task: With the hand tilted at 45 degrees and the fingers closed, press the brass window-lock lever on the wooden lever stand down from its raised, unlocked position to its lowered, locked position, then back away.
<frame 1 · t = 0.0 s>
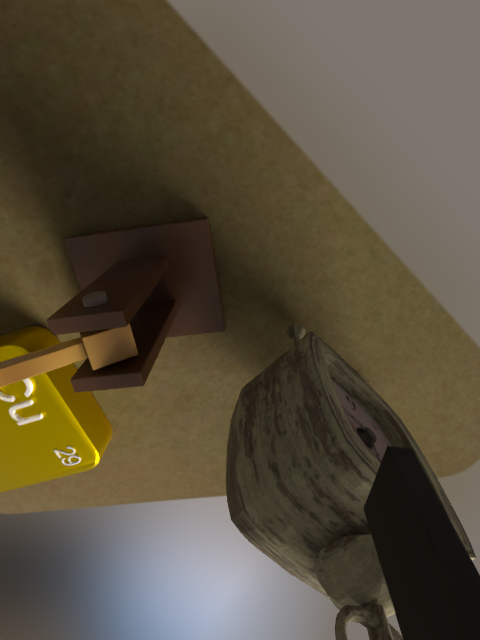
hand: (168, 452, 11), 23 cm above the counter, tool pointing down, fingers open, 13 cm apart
element tile: (25, 399, 39), on the counter
tabletop clock: (309, 378, 37), on the counter
wooden lever stand: (151, 282, 33), on the counter
lock lever: (24, 366, 21), point 13 cm above the counter, hinge at 30.0°
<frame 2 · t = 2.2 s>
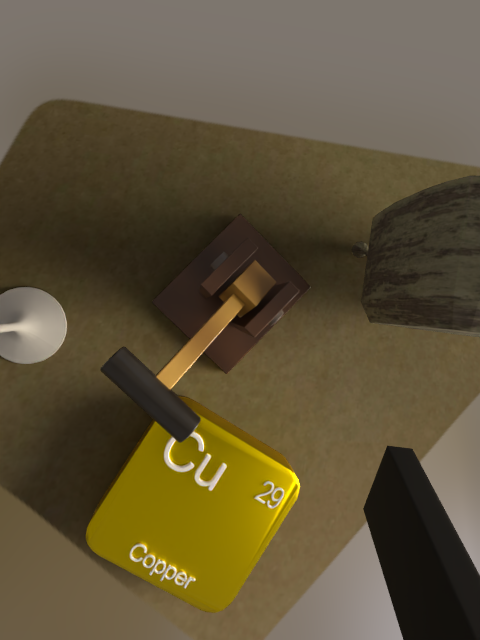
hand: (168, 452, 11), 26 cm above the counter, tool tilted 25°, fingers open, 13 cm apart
element tile: (196, 487, 38), on the counter
wineglass: (27, 325, 35), on the counter
tabletop clock: (399, 284, 39), on the counter
wooden lever stand: (232, 294, 37), on the counter
lock lever: (207, 333, 24), point 13 cm above the counter, hinge at 30.0°
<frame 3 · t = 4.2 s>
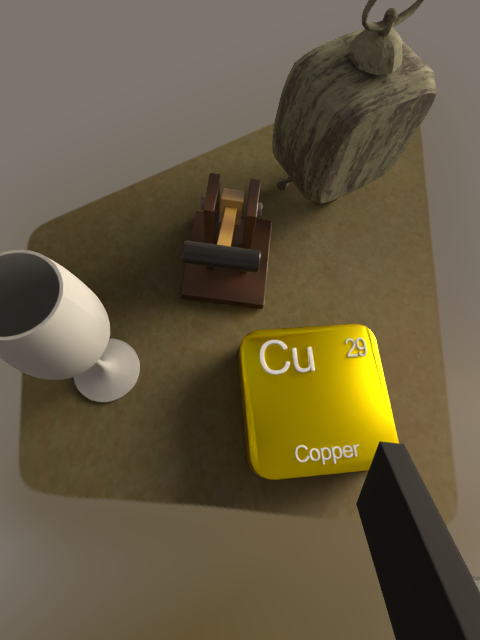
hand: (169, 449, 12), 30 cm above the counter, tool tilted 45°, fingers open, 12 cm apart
element tile: (307, 401, 42), on the counter
wineglass: (107, 370, 42), on the counter
tabletop clock: (323, 189, 53), on the counter
wooden lever stand: (228, 260, 47), on the counter
lock lever: (227, 227, 33), point 13 cm above the counter, hinge at 30.0°
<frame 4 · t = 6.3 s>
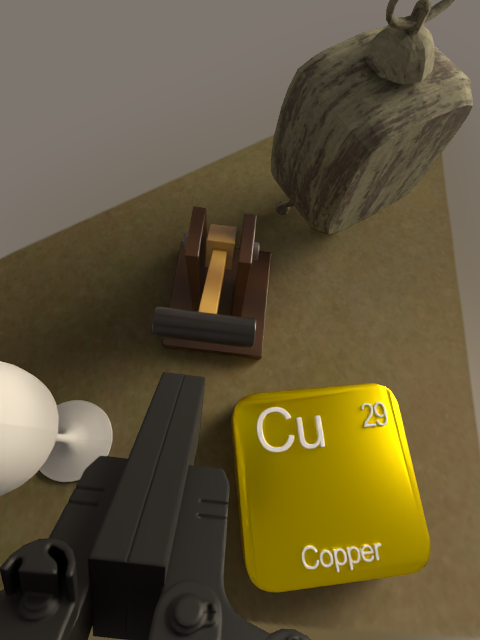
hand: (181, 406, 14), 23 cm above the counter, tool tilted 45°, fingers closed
element tile: (315, 475, 35), on the counter
wineglass: (73, 439, 35), on the counter
tabletop clock: (329, 213, 45), on the counter
wooden lever stand: (219, 300, 40), on the counter
lock lever: (214, 279, 26), point 13 cm above the counter, hinge at 30.0°
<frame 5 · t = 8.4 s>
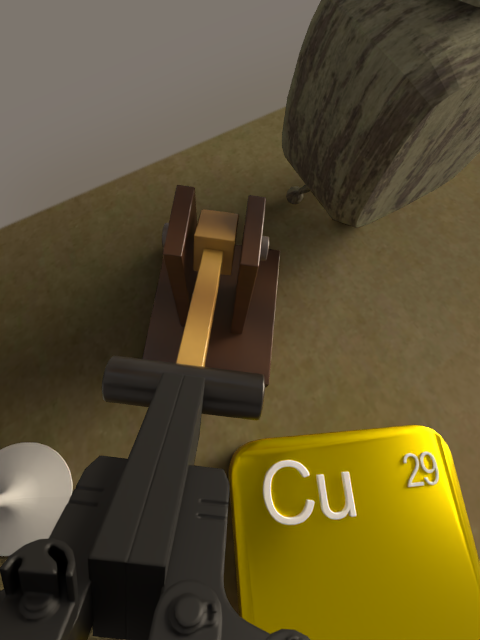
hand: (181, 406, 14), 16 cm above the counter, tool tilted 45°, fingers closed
element tile: (338, 543, 27), on the counter
wineglass: (21, 495, 26), on the counter
tabletop clock: (351, 202, 37), on the counter
wooden lever stand: (215, 310, 32), on the counter
lock lever: (204, 297, 18), point 13 cm above the counter, hinge at 23.9°, touching gripper
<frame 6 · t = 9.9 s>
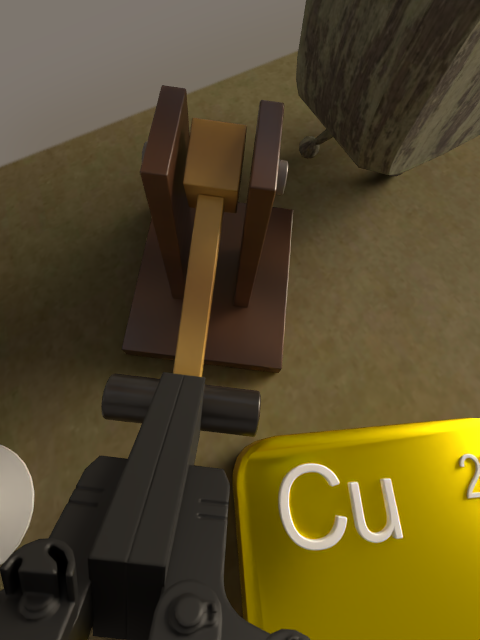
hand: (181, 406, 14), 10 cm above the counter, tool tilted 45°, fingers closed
element tile: (371, 568, 21), on the counter
tabletop clock: (375, 157, 31), on the counter
wooden lever stand: (214, 281, 26), on the counter
lock lever: (201, 277, 15), point 10 cm above the counter, hinge at -14.6°, touching gripper
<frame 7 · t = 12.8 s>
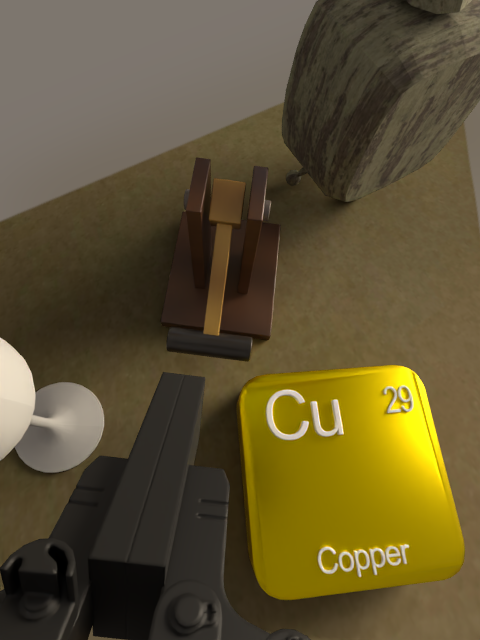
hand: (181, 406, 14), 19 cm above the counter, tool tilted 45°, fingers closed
element tile: (330, 467, 31), on the counter
wineglass: (60, 426, 31), on the counter
tabletop clock: (343, 184, 42), on the counter
wooden lever stand: (223, 275, 37), on the counter
lock lever: (219, 272, 27), point 9 cm above the counter, hinge at -24.4°
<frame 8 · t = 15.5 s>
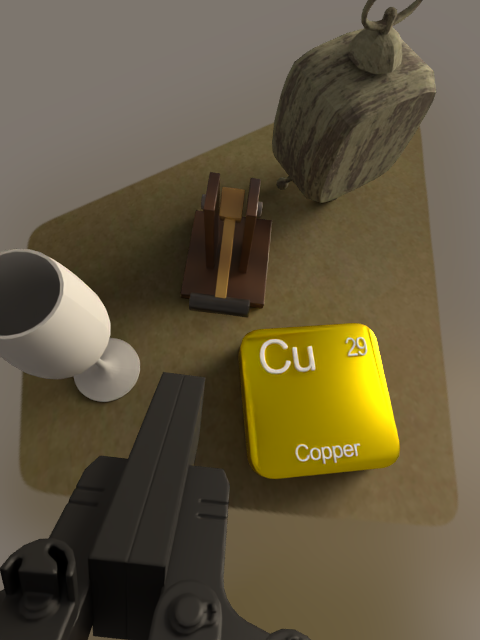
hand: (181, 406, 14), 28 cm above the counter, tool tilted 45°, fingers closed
element tile: (307, 400, 42), on the counter
wineglass: (107, 369, 42), on the counter
tabletop clock: (322, 188, 53), on the counter
wooden lever stand: (228, 259, 47), on the counter
lock lever: (226, 253, 37), point 9 cm above the counter, hinge at -24.4°
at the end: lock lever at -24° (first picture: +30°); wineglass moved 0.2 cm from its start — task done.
